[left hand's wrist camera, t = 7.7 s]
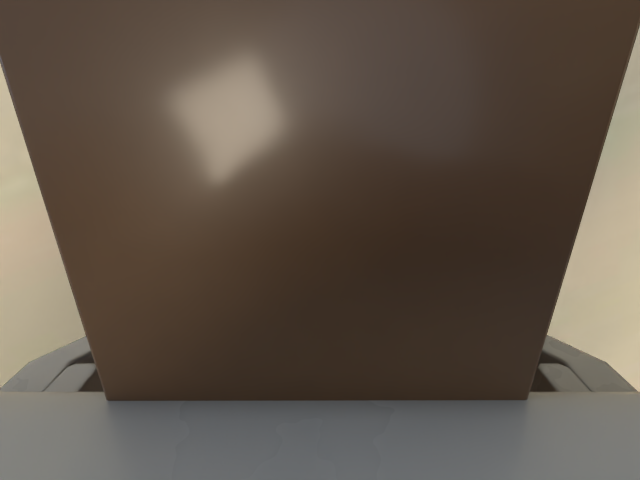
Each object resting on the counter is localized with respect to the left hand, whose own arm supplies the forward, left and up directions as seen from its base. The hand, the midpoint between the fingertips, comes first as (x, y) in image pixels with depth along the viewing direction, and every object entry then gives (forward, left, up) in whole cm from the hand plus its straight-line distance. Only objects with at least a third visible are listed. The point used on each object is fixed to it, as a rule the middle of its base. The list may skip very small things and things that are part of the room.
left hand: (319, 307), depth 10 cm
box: (+10, 0, -4) cm, 11 cm away
